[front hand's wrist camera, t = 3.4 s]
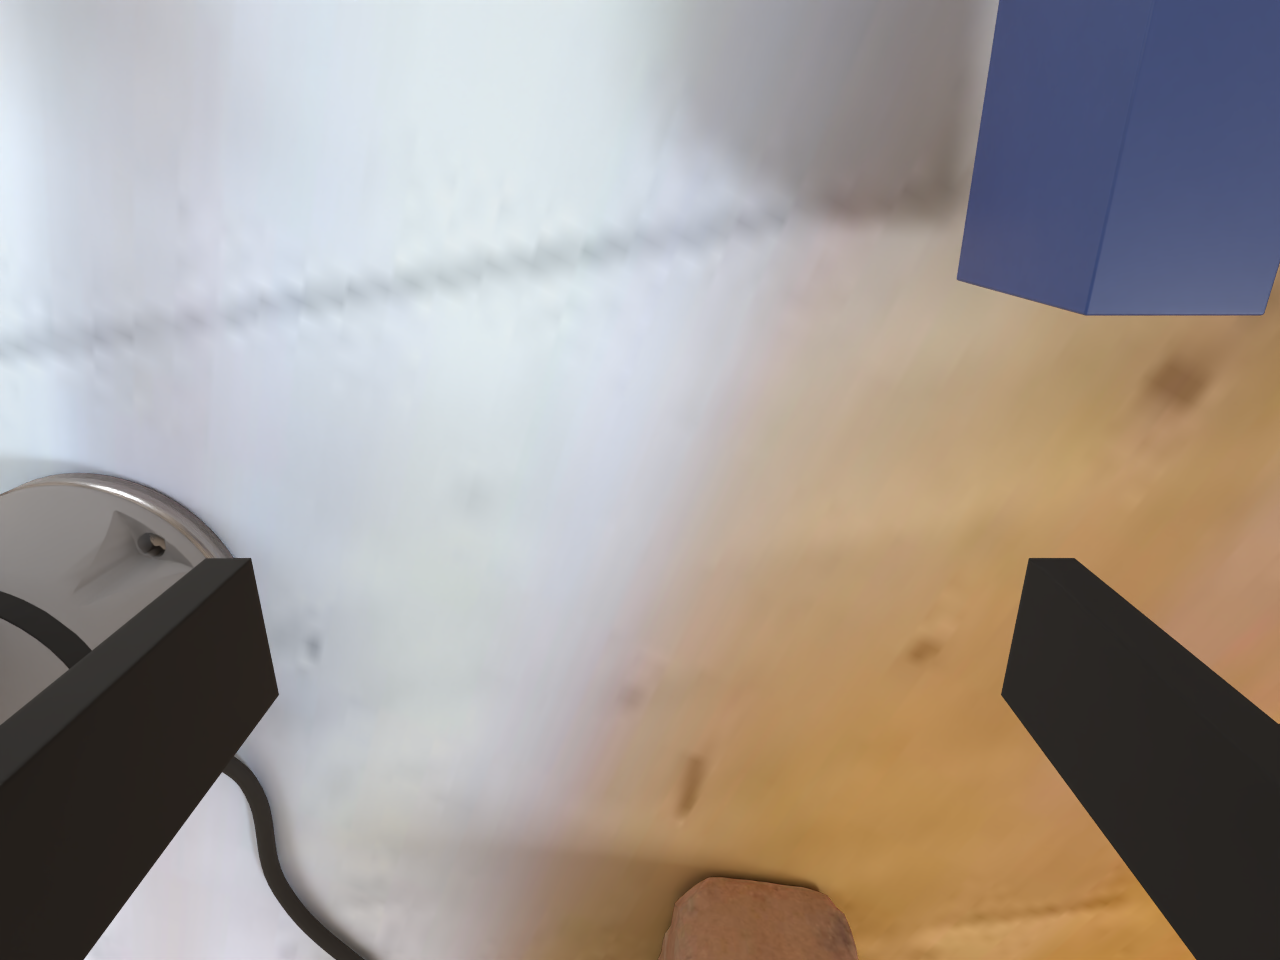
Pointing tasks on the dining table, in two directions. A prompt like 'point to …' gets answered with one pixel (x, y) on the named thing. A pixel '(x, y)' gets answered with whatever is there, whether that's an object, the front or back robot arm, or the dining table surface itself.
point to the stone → (756, 924)
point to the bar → (1129, 157)
